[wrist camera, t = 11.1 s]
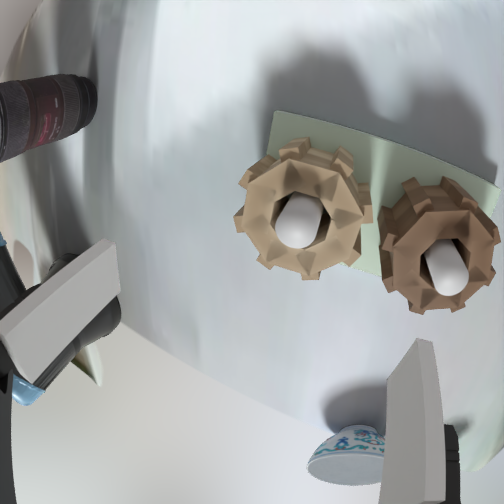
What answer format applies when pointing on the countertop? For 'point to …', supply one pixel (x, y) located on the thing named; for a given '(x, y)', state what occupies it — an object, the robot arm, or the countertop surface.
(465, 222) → the walnut gear
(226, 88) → the countertop surface
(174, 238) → the countertop surface
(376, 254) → the gear board
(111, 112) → the countertop surface
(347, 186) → the maple gear
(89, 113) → the camera lens
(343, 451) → the chinaware
